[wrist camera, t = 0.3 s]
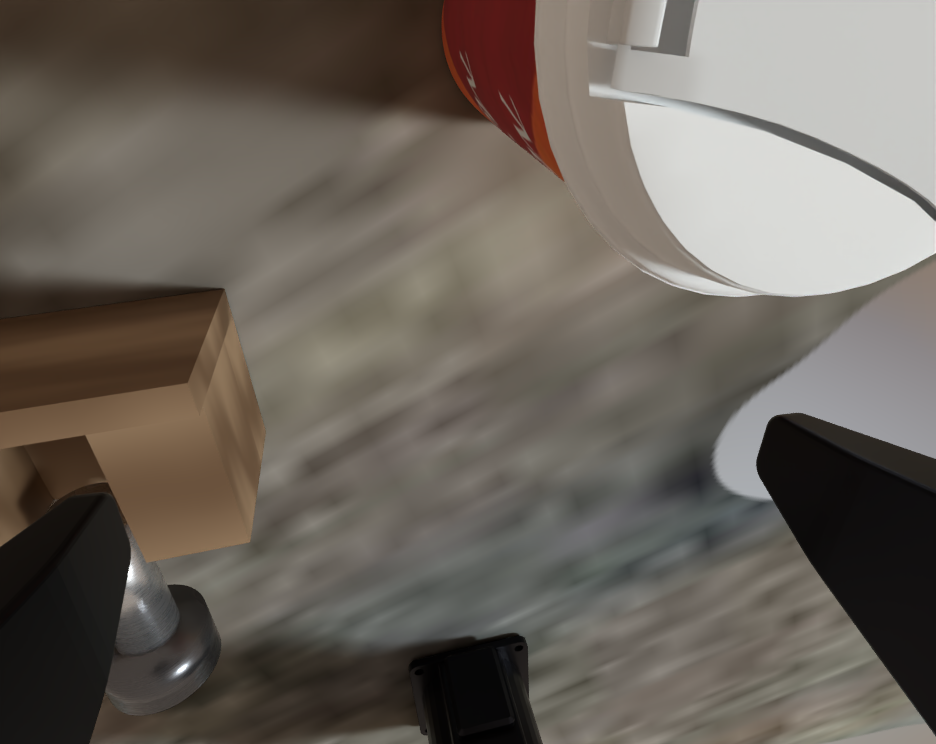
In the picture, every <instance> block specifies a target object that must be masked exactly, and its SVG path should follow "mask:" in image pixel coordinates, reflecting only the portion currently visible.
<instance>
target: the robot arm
mask: <svg viewBox="0 0 936 744" xmlns="http://www.w3.org/2000/svg"><path fill="white" fill-rule="evenodd" d="M756 466H757V472H758V475H759V477H760V479H761V480H762V482H763V484H764V486H765V487H766V489H767V491H768V492H769V494H770V496H771V497H772V499H773V501H774V502H775V504H776V506H777V508H778V509H779V511H780V513H781V514H782V516H783V518H784V519H785V521H786V523H787V524H788V526H789V528H790V529H791V531H792V533H793V535H794V536H795V538H796V540H797V541H798V543H799V545H800V546H801V548H802V550H803V551H804V553H805V555H806V556H807V558H808V559H809V561H810V563H811V564H812V565H813V567H814V568H815V570H816V571H817V573H818V574H819V576H820V577H821V578H822V580H823V581H824V583H825V584H826V585H827V587H828V588H829V589H830V591H831V592H832V594H833V595H834V596H835V598H836V599H837V601H838V602H839V603H840V605H841V606H842V607H843V609H844V610H845V612H846V613H847V614H848V616H849V617H850V619H851V620H852V621H853V623H854V624H855V625H856V627H857V628H858V630H859V631H860V632H861V634H862V635H863V636H864V638H865V639H866V641H867V642H868V643H869V645H870V646H871V648H872V649H873V650H874V652H875V653H876V654H877V656H878V657H879V659H880V660H881V661H882V663H883V664H884V665H885V667H886V668H887V670H888V671H889V672H890V674H891V675H892V677H893V678H894V679H895V681H896V682H897V683H898V685H899V686H900V688H901V689H902V690H903V692H904V693H905V694H906V696H907V697H908V699H909V700H910V701H911V703H912V704H913V706H914V707H915V708H916V710H917V711H918V712H919V714H920V715H921V717H922V718H923V719H924V721H925V722H926V723H927V725H928V726H929V728H930V729H931V730H932V732H933V733H934V734H935V736H936V459H934V458H931V457H928V456H925V455H922V454H920V453H916V452H914V451H911V450H908V449H904V448H902V447H899V446H896V445H893V444H890V443H888V442H885V441H882V440H879V439H876V438H873V437H870V436H867V435H864V434H861V433H858V432H855V431H852V430H849V429H847V428H844V427H841V426H838V425H835V424H832V423H829V422H826V421H823V420H821V419H818V418H815V417H812V416H809V415H806V414H803V413H791V414H782V415H776V416H774V417H772V418H771V420H770V421H769V422H768V424H767V427H766V430H765V433H764V437H763V440H762V444H761V447H760V450H759V453H758V457H757V461H756ZM130 562H131V546H130V541H129V538H128V535H127V532H126V529H125V527H124V524H123V521H122V518H121V515H120V512H119V509H118V506H117V504H116V501H115V499H114V498H113V496H112V495H111V494H109V493H107V492H98V493H89V494H80V495H74V496H71V497H69V498H67V499H66V500H64V501H63V502H61V503H60V504H59V505H57V506H56V507H54V508H53V509H52V510H50V511H49V512H48V513H46V514H45V515H43V516H42V517H41V518H39V519H38V520H36V521H35V522H34V523H32V524H31V525H30V526H28V527H27V528H25V529H24V530H23V531H21V532H20V533H19V534H17V535H16V536H14V537H13V538H12V539H10V540H9V541H7V542H6V543H5V544H3V545H2V546H1V547H0V744H89V743H90V739H91V736H92V733H93V730H94V727H95V723H96V720H97V717H98V714H99V710H100V707H101V704H102V700H103V697H104V693H105V690H106V686H107V682H108V678H109V673H110V669H111V664H112V659H113V654H114V648H115V643H116V637H117V632H118V627H119V621H120V616H121V610H122V605H123V600H124V594H125V589H126V584H127V578H128V573H129V567H130ZM409 672H410V678H411V683H412V688H413V694H414V699H415V704H416V709H417V715H418V720H419V725H420V731H421V734H423V735H428V741H429V744H543V743H542V740H541V737H540V733H539V730H538V727H537V724H536V721H535V717H534V714H533V711H532V708H531V705H530V701H529V683H528V646H527V643H526V640H525V638H524V637H523V636H515V637H511V638H507V639H503V640H498V641H494V642H490V643H486V644H482V645H477V646H473V647H469V648H465V649H460V650H456V651H452V652H448V653H443V654H439V655H435V656H431V657H426V658H422V659H418V660H415V661H413V662H412V663H411V664H410V665H409Z"/></svg>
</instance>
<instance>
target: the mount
mask: <svg viewBox="0 0 936 744" xmlns="http://www.w3.org/2000/svg"><path fill="white" fill-rule="evenodd" d="M265 434H266V430H265V427H264V423H263V420H262V417H261V413H260V410H259V406H258V403H257V399H256V396H255V392H254V389H253V386H252V382H251V379H250V375H249V372H248V368H247V365H246V362H245V358H244V355H243V351H242V348H241V344H240V341H239V337H238V334H237V331H236V327H235V324H234V320H233V317H232V313H231V310H230V306H229V303H228V300H227V296H226V293H225V289H220V290H212V291H205V292H197V293H190V294H183V295H175V296H168V297H160V298H153V299H145V300H138V301H131V302H123V303H116V304H108V305H101V306H94V307H86V308H79V309H71V310H64V311H57V312H49V313H42V314H34V315H27V316H19V317H12V318H5V319H0V547H1V546H2V545H3V544H5V543H6V542H7V541H9V540H10V539H12V538H13V537H14V536H16V535H17V534H19V533H20V532H21V531H23V530H24V529H25V528H27V527H28V526H30V525H31V524H32V523H34V522H35V521H36V520H38V519H39V518H41V517H42V516H43V515H45V514H46V512H47V510H48V508H49V507H50V505H51V503H52V501H53V500H55V499H60V498H62V497H63V496H65V495H66V494H68V493H70V492H72V491H74V490H76V489H78V488H81V487H84V486H87V485H90V484H95V483H102V482H108V484H109V486H110V488H111V490H112V492H113V494H114V496H115V498H116V500H117V502H118V504H119V507H120V509H121V511H122V513H123V515H124V517H125V519H126V521H127V523H128V525H129V527H130V529H131V532H132V534H133V536H134V538H135V540H136V542H137V544H138V546H139V548H140V550H141V552H142V554H143V557H144V559H145V561H146V563H148V562H153V561H158V560H163V559H168V558H173V557H178V556H183V555H188V554H193V553H198V552H203V551H208V550H213V549H218V548H223V547H229V546H234V545H239V544H244V543H249V542H250V539H251V532H252V525H253V518H254V511H255V504H256V497H257V490H258V483H259V476H260V469H261V462H262V455H263V448H264V441H265Z"/></svg>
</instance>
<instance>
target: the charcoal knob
mask: <svg viewBox="0 0 936 744" xmlns="http://www.w3.org/2000/svg"><path fill="white" fill-rule="evenodd" d="M98 492H107V493H109V494H111V495H112V496H113V498H114V499H115V501H116V504H117V506H118V509H119V512H120V515H121V518H122V521H123V524H124V527H125V529H126V532H127V535H128V538H129V541H130V546H131V562H130V567H129V573H128V578H127V584H126V589H125V594H124V600H123V605H122V610H121V616H120V621H119V627H118V632H117V637H116V643H115V648H114V654H113V659H112V664H111V669H110V673H109V678H108V682H107V686H106V690H105V693H106V694H107V696H108V698H109V699H110V701H111V702H112V704H113V705H114V706H115V707H116V708H117V709H118V710H119V711H121V712H123V713H126V714H130V715H137V716H140V715H150V714H155V713H158V712H161V711H164V710H166V709H169V708H171V707H173V706H175V705H177V704H179V703H180V702H182V701H183V700H185V699H186V698H188V697H189V696H190V695H192V694H193V693H194V692H195V691H196V690H197V689H198V688H199V687H200V686H201V685H202V684H203V683H204V682H205V681H206V680H207V678H208V677H209V676H210V674H211V673H212V671H213V670H214V668H215V666H216V664H217V661H218V659H219V655H220V651H221V639H220V635H219V633H218V630H217V628H216V626H215V623H214V621H213V619H212V616H211V614H210V612H209V609H208V607H207V605H206V602H205V600H204V598H203V596H202V595H201V594H200V593H199V592H198V591H197V590H195V589H193V588H191V587H188V586H185V585H175V584H174V585H167V584H166V582H165V580H164V578H163V575H162V573H161V571H160V569H159V567H158V565H157V563H156V561H153V562H148V563H146V561H145V559H144V557H143V554H142V552H141V550H140V548H139V546H138V544H137V542H136V540H135V538H134V536H133V534H132V532H131V529H130V527H129V525H128V523H127V521H126V519H125V517H124V515H123V513H122V511H121V509H120V507H119V504H118V502H117V500H116V498H115V496H114V494H113V492H112V490H111V488H110V486H109V484H108V482H102V483H95V484H90V485H87V486H84V487H81V488H78V489H76V490H74V491H72V492H70V493H68V494H66V495H65V496H63V497H62V498H60V499H59V500H58V501H56V502H55V503H54V504H53V505H52V506H51V507H50V508H49V510H48V511H47V513H48V512H49V511H50V510H52V509H53V508H54V507H56V506H57V505H59V504H60V503H61V502H63V501H64V500H66V499H67V498H69V497H71V496H74V495H80V494H89V493H98Z"/></svg>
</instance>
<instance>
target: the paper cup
mask: <svg viewBox="0 0 936 744" xmlns="http://www.w3.org/2000/svg"><path fill="white" fill-rule="evenodd" d="M442 40H443V47H444V52H445V56H446V60H447V63H448V66H449V69H450V71H451V74H452V76H453V78H454V80H455V82H456V83H457V85H458V87H459V88H460V90H461V91H462V93H463V94H464V95H465V97H466V98H467V99H468V100H469V101H470V103H471V104H472V105H473V106H474V107H475V108H476V109H477V110H478V111H479V112H480V113H482V114H483V115H484V116H485V117H486V118H487V119H488V120H490V121H491V122H492V123H493V124H494V125H495V126H497V127H498V128H499V129H500V130H501V131H502V132H504V133H505V134H506V135H507V136H508V137H510V138H511V139H512V140H513V141H515V142H516V143H517V144H518V145H519V146H521V147H522V148H523V149H524V150H526V151H527V152H528V153H529V154H530V155H532V156H533V157H534V158H535V159H537V160H538V161H539V162H540V163H542V164H543V165H544V166H545V167H547V168H548V169H549V170H550V171H551V172H553V173H554V174H555V175H556V176H558V177H559V178H560V179H561V180H563V181H564V182H565V184H566V186H567V189H568V190H569V192H570V193H571V195H572V197H573V198H574V200H575V201H576V203H577V205H578V206H579V208H580V209H581V211H582V213H583V214H584V216H585V218H586V219H587V221H588V222H589V223H590V224H591V226H592V227H593V228H594V229H595V230H596V231H597V232H598V233H599V234H600V236H601V237H602V238H603V239H604V240H605V241H606V242H607V243H608V244H609V245H610V247H611V248H612V249H613V250H614V251H616V252H617V253H618V254H620V255H621V256H622V257H624V258H625V259H627V260H628V261H629V262H631V263H632V264H633V265H635V266H636V267H637V268H639V269H640V270H641V271H643V272H645V273H647V274H649V275H651V276H653V277H655V278H657V279H659V280H661V281H663V282H665V283H667V284H669V285H672V286H674V287H678V288H682V289H686V290H690V291H693V292H697V293H701V294H705V295H719V296H732V297H742V296H753V295H774V296H787V297H800V296H810V295H821V294H830V293H835V292H840V291H844V290H848V289H852V288H855V287H859V286H863V285H867V284H871V283H873V282H876V281H878V280H881V279H883V278H886V277H888V276H891V275H893V274H896V273H898V272H901V271H903V270H905V269H907V268H909V267H911V266H913V265H914V264H916V263H918V262H920V261H922V260H924V259H925V258H927V257H929V256H931V255H933V254H935V253H936V0H444V4H443V11H442Z"/></svg>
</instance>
